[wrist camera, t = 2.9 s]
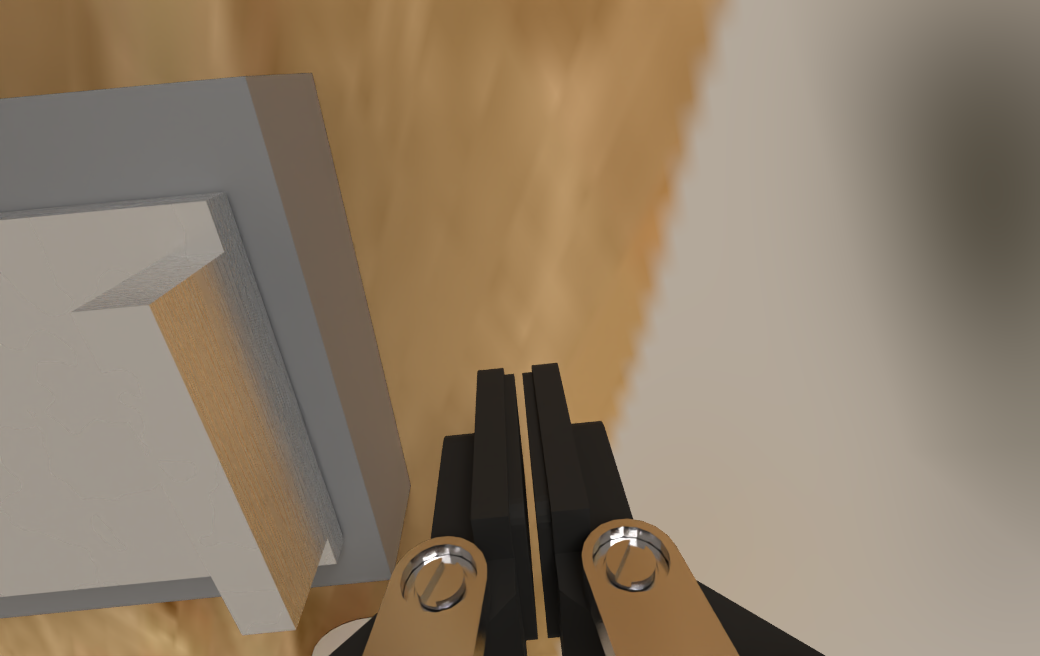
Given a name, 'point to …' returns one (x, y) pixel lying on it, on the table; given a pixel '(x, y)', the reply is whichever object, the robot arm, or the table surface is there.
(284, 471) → the panel
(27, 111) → the socket block
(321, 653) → the cylindrical container
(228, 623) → the table surface
